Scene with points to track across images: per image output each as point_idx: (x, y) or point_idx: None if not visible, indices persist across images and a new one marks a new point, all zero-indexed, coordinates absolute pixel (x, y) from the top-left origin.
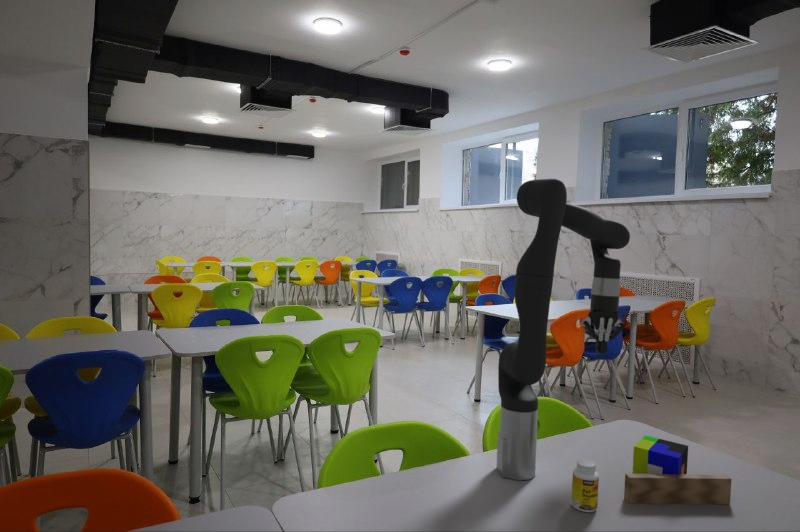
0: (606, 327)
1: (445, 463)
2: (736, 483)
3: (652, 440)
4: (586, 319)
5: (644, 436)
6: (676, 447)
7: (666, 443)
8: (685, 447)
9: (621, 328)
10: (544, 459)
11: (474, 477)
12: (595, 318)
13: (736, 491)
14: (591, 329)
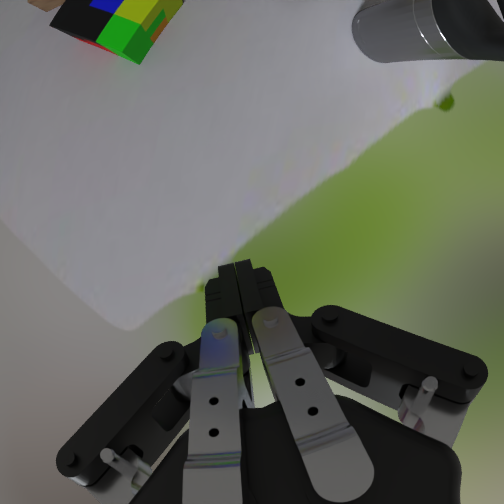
0: (242, 419)
1: (457, 75)
2: (4, 86)
3: (116, 23)
4: (465, 414)
5: (127, 42)
6: (79, 2)
7: (90, 17)
8: (59, 12)
9: (91, 432)
10: (327, 87)
11: None
12: (407, 461)
13: (15, 53)
14: (391, 349)
